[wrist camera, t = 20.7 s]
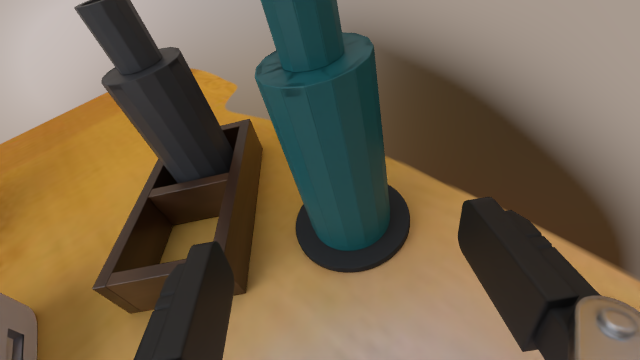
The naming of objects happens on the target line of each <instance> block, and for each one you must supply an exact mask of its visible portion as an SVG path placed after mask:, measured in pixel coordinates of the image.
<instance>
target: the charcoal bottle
mask: <svg viewBox="0 0 640 360" xmlns="http://www.w3.org/2000/svg"><path fill="white" fill-rule="evenodd" d="M75 10H76V11H77V13H78V14H79V15H80V17H81V18H82V20H83V21H84V23H85V24H86V25H87V27H88V28H89V30H90V31H91V33H92V34H93V36H94V37H95V38H96V40H97V41H98V43H99V44H100V46H101V47H102V48H103V50H104V51H105V53H106V54H107V56H108V57H109V58H110V60H111V61H112V63H113V64H114V66H115V68H113V69H112V70H110V71H109V72H108V73H107V74H106V75H105V76H104V77H103V78H102V84H103V86H104V87H105V88H106V90H107V91H108V92H109V94H110V95H111V96H112V98H113V99H114V100H115V102H116V103H117V104H118V105H119V107H120V108H121V109H122V111H123V112H124V113H125V115H126V116H127V117H128V119H129V120H130V121H131V123H132V124H133V125H134V127H135V128H136V129H137V131H138V132H139V133H140V134H141V136H142V137H143V138H144V140H145V141H146V142H147V144H148V145H149V146H150V148H151V149H152V150H153V152H154V153H155V154H156V156H157V157H158V158H159V159H160V161H161V162H162V163H163V165H164V166H165V167H166V169H167V170H168V171H169V173H170V174H171V175H172V177H173V178H174V179H175V181H176V182H177V183H178V184H179V183H183V182H188V181H192V180H197V179H201V178H206V177H210V176H215V175H220V174H224V173H229V171H230V166H231V162H232V158H233V153H234V151H233V149H232V148H231V146H230V144H229V142H228V140H227V138H226V136H225V134H224V132H223V131H222V129H221V127H220V125H219V123H218V121H217V119H216V117H215V115H214V114H213V112H212V110H211V108H210V106H209V104H208V102H207V100H206V98H205V97H204V95H203V93H202V91H201V89H200V87H199V85H198V83H197V82H196V80H195V78H194V76H193V74H192V72H191V70H190V68H189V67H188V65H187V63H186V61H185V59H184V57H183V55H182V53H181V51H180V50H179V48H173V47H169V48H162V49H158V48H157V46H156V44H155V42H154V41H153V39H152V37H151V35H150V34H149V32H148V30H147V28H146V27H145V25H144V24H143V22H142V20H141V18H140V16H139V15H138V13H137V11H136V9H135V8H134V6H133V4H132V2H131V1H130V0H89V1H87V2H84V3H82V4H80V5H78V6H76V7H75Z"/></svg>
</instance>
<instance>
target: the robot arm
mask: <svg viewBox="0 0 640 360" xmlns="http://www.w3.org/2000/svg"><path fill="white" fill-rule="evenodd" d="M458 241H459V246H460V249H461V251H462V253H463V255H464V256H465V258H466V260H467V261H468V263H469V265H470V266H471V268H472V269H473V271H474V273H475V274H476V276H477V278H478V279H479V281H480V283H481V284H482V286H483V287H484V289H485V291H486V292H487V294H488V296H489V297H490V299H491V301H492V302H493V304H494V306H495V307H496V309H497V310H498V312H499V314H500V315H501V317H502V319H503V320H504V322H505V324H506V325H507V327H508V329H509V330H510V332H511V333H512V335H513V337H514V338H515V340H516V342H517V343H518V345H519V347H520V348H521V350H522V352H525V351H531V350H537V349H538V350H539V351H540V353H541V354H542V356H543V357H544V359H545V360H640V312H639V311H637V310H636V309H634V308H633V307H631V306H629V305H628V304H626V303H623V302H621V301H619V300H616V299H613V298H609V297H605V296H601V295H600V294H599V293H598V292H597V291H596V290H595V289H594V288H593V287H592V286H591V285H590V284H589V283H588V282H587V281H586V280H585V279H584V278H583V277H582V276H581V275H580V274H579V273H578V272H577V270H576V269H575V268H574V267H573V266H572V265H571V264H570V263H569V262H568V261H567V260H566V259H565V258H564V257H563V256H562V255H561V254H560V253H559V252H558V251H557V249H556V248H555V247H552V244H551V243H550V242H549V241H548V240H547V239H546V238H545V237H544V236H542V235H541V233H540V232H539V231H538V230H537V228H536V227H535V226H534V225H533V224H532V223H531V222H530V221H529V220H527V219H525V218H524V217H522V216H520V215H519V214H517V213H515V212H514V211H512V210H508V211H504V210H503V209H502V208H501V206H500V205H499V204H498V203H497V202H496V201H495V200H494V199H493V198H491V197H485V198H479V199H473V200H467V201H464V203H463V206H462V212H461V218H460V225H459V231H458ZM234 287H235V281H234V274H233V271H232V269H231V267H230V264H229V262H228V260H227V258H226V256H225V254H224V252H223V250H222V248H221V246H220V244H219V243H218V242H217V241H214V242H208V243H202V244H196V245H193V246H192V247H191V248H190V250H189V253H188V256H187V259H186V262H185V263H181V264H177V266H176V267H175V268H174V269H173V271H172V272H171V273H170V274H169V276H168V277H167V278H166V280H165V282H164V285H163V287H162V290H161V292H160V298H158V300H157V302H156V305H155V307H154V308H155V311H153V312H152V315H151V317H150V320H149V322H148V325H147V327H146V330H145V332H144V335H143V337H142V340H141V342H140V345H139V347H138V350H137V353H136V355H135V358H134V360H222V358H223V352H224V346H225V341H226V335H227V329H228V323H229V317H230V312H231V306H232V300H233V294H234Z"/></svg>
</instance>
